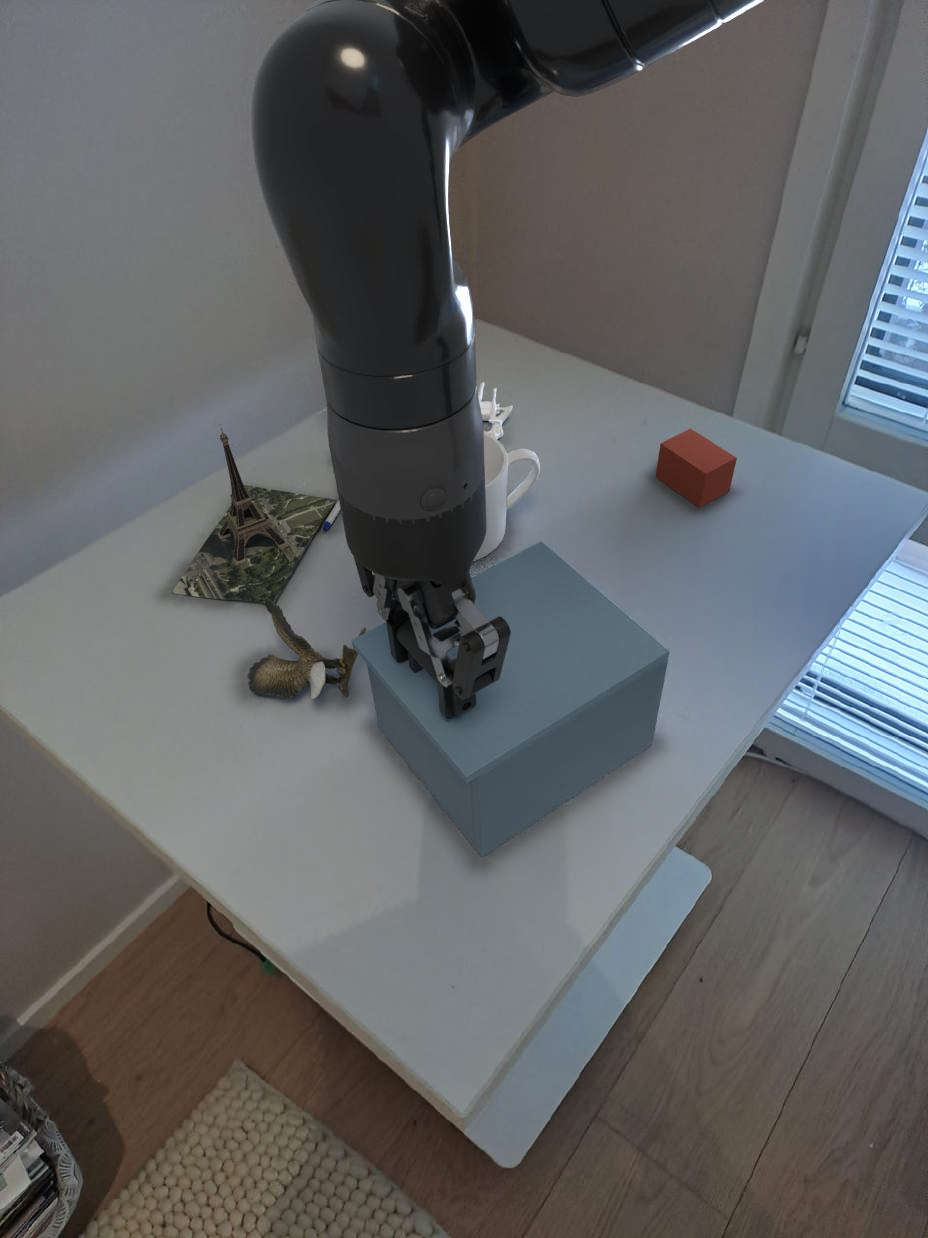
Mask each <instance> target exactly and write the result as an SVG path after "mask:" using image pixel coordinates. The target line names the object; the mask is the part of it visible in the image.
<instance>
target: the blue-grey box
mask: <svg viewBox="0 0 928 1238" xmlns="http://www.w3.org/2000/svg"><path fill="white" fill-rule="evenodd" d="M668 663H669V658H668V659H666V660H664V661H663V662H661V663H660V664H658V665H656V666H655V667H653V668H652V669H650V670H648V671H647V672H645V673H644V674H642V675H640V676H639V677H637V678H636V679H634V680H632V681H631V682H629V683H627V684H626V685H624V686H623V687H621V688H619V689H618V690H616V691H615V692H613V693H611V694H610V695H608V696H607V697H605V698H603V699H602V700H600V701H599V702H597V703H595V704H594V705H592V706H591V707H589V708H587V709H586V710H584V711H582V712H581V713H579V714H578V715H576V716H574V717H573V718H571V719H570V720H568V721H566V722H565V723H563V724H562V725H560V726H558V727H557V728H555V729H554V730H552V731H550V732H549V733H547V734H546V735H544V736H542V737H541V738H539V739H537V740H536V741H534V742H533V743H531V744H529V745H528V746H526V747H525V748H523V749H521V750H520V751H518V752H517V753H515V754H513V755H512V756H510V757H509V758H507V759H505V760H504V761H502V762H500V763H499V764H497V765H496V766H494V767H492V768H491V769H489V770H488V771H486V772H484V773H483V774H481V775H480V776H478V777H476V778H475V779H473V780H472V781H470V782H468V783H466V782H465V781H464V780H463V779H462V777H461V776H460V775H459V774H458V773H457V772H456V770H455V769H454V768H453V767H452V766H451V764H450V763H449V762H448V761H447V760H446V758H445V757H444V756H443V755H442V754H441V752H440V751H439V750H438V749H437V748H436V746H435V745H434V744H433V743H432V742H431V740H430V739H429V738H428V737H427V736H426V734H425V733H424V732H423V731H422V730H421V728H420V727H419V726H418V725H417V724H416V722H415V721H414V720H413V719H412V718H411V716H410V715H409V714H408V713H407V712H406V710H405V709H404V708H403V707H402V706H401V704H400V703H399V702H398V701H397V700H396V698H395V697H394V696H393V695H392V694H391V693H390V691H389V690H388V689H387V688H386V687H385V685H384V684H383V683H382V682H381V681H380V679H379V678H378V677H377V676H376V675H375V673H374V672H373V671H372V670H371V669H370V667H369V666H368V665H367V664H366V667H367V672H368V678H369V684H370V689H371V693H372V694H371V695H372V699H373V705H374V710H375V715H376V716H375V717H376V721H377V726H378V728H379V730H380V731H381V733H382V734H383V735H384V736H385V738H386V739H387V740H388V741H389V743H390V744H391V746H393V748H394V750H396V752H397V753H398V754H399V755H400V756H401V758H402V759H403V760H404V761H405V764H407V765H408V766H409V767H410V769H411V770H412V772H413V773H414V774H415V775H416V777H417V778H418V779H419V780H420V781H421V783H422V784H423V785H424V787H425V788H426V790H427V791H428V792H429V793H430V795H432V797H433V798H434V799H435V800H436V802H437V803H438V804H439V805H440V807H441V808H442V810H443V811H444V812H445V813H446V814H447V816H448V817H449V818H450V819H451V821H452V822H453V823H454V824H455V826H456V827H457V829H458V830H459V831H460V832H461V833H462V835H463V836H464V837H465V838H466V839H467V841H468V842H469V843H470V845H471V846H472V847H473V848H474V849H475V851H476V853H477V854H478V855H479V856H480V857H481V858H484V857H485V856H487V855H489V854H490V853H491V852H493V851H494V850H496V849H497V848H499V847H501V846H502V845H503V844H505V843H506V842H508V841H509V840H511V839H512V838H514V837H515V836H517V835H518V834H520V833H521V832H523V831H524V830H526V829H527V828H529V827H531V826H532V825H534V824H536V822H538V821H539V820H541V819H542V818H544V817H546V816H547V815H549V814H551V813H552V812H553V811H555V810H556V809H557V808H559V807H561V806H562V805H563V804H565V803H567V802H568V801H569V800H571V799H573V798H574V797H576V796H577V795H579V794H580V793H582V792H583V791H584V790H587V789H588V788H589V787H591V786H592V785H594V784H595V783H597V782H598V781H600V780H602V779H603V778H604V777H606V776H607V775H609V774H610V773H612V772H613V771H615V770H616V769H618V768H620V767H621V766H622V765H624V764H626V763H627V762H628V761H630V760H631V759H633V758H635V757H636V756H638V755H639V754H640V753H642V752H643V751H645V750H647V749H648V748H649V747H651V746H653V744H654V743H653V742H654V737H655V732H656V726H657V721H658V716H659V710H660V705H661V700H662V694H663V690H664V684H665V679H666V673H667V668H668V665H669V664H668Z"/></svg>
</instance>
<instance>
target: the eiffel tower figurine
mask: <svg viewBox="0 0 928 1238" xmlns="http://www.w3.org/2000/svg"><path fill="white" fill-rule="evenodd" d="M219 427H220V430H221V434H220V435H219V440H220V441H221V443H222V447H223V451H224V456H225V461H226V466H227V470H228V475H229V479H230V480H229V481H230V488H231V493H230V495H229V497H230V499H231V503H230V506H229V507H228V509H227V510H226V512H225V513H224V515H223V516H222V517H221V519H220V520H219V522H218V523H217V524H216V525H215V527H214V528H213V530H212V531H211V533H210V534H209V536H208V537H207V539H206V540H205V541H204V543H203V544H202V546H201V547H200V549H199V550H198V552H197V553H196V555H195V556H194V558H193V559H192V561H191V562H190V564H189V565H188V567H187V569H185V572H184V573H183V575H182V576H181V577H180V579H179V581H178V582H177V584H176V585H175V586H174V588H173V590H172V591H171V594H174V595H181V596H182V595H183V596H190V597H197V598H205V599H211V600H212V599H215V600H226V601H227V600H228V601H245V602H254V603H255V602H256V603H263V604H264V599H265V598H267V597H268V598H269V599H271V600H272V601H273V602H274V603H276V601H277V599H278V597H279V595H280V594H281V592H282V590H284V587H285V586H286V584H287V583H288V581H289V579H290V577H292V574H293V573H294V571H295V569H296V567H297V566H298V564H299V562H300V560H301V558H302V556H303V555H304V553H305V552H306V549H308V546H309V544H310V543H311V541H312V539H313V537H314V536H315V534H316V533H317V531H318V530H319V528H320V526H321V525H322V523H323V521H324V520H325V518H327V515H329V512H330V511H332V509H333V506H335V504H336V502H337V499H333V498H327V497H322V496H315V495H310V494H309V495H308V494H302V493H296V492H290V491H286V490H285V491H284V490H278V489H273V488H265V487H260V486H254V485H247V484H244V482H243V480H242V477H241V475H240V471H239V470H238V466H237V464H236V461H235V458H234V455H233V453H232V450H231V447H230V443H229V441H230V439H229V437H228V435H227V433H224V430H223V428H222V424H221V423H219Z"/></svg>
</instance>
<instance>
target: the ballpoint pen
mask: <svg viewBox="0 0 928 1238" xmlns="http://www.w3.org/2000/svg"><path fill="white" fill-rule="evenodd" d="M333 506H334V507H332V509H331V510H330V511H331V512H330V513H329V514H328V516H327V517H326V519H325V521H324V523H323V526H322V531H324V532H326V531H327V530H328V529H329V528H330V527H331V526H332V524H333V523H334V522H335V519H336V518H337V516H338V514H339V513H340V512H341V508H340V502H339V499H338V500H337V501H336V502H335V504H334V505H333Z"/></svg>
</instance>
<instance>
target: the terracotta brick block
mask: <svg viewBox="0 0 928 1238" xmlns="http://www.w3.org/2000/svg"><path fill="white" fill-rule="evenodd" d="M659 444H660V445H659V451H658V456H657V457H658V458H657V465H656V472H655V478H656V479H658V480H659V481H661V482H662V483H664V484H665V485H666V486H667V487H669V488H671V489H673V490H674V491H675V492H677V493H678V494H680V495H681V496H682V497H684V498H685V499H687V500H688V501H689V502H691V503H692V504H694V505H695V506H697V508H703V507H704V506H705V505H707V504H710V503H711V502H713V501H715V500H716V499H719V498H720V497H722V496H724V495H726V494H727V493H729V492H730V491H731V486H732V483H733V477H734V474H735V468H736V463H737V460H738V458H737V457H736V456H735V455H734V454H732V453H730V452H729V451H728V450H726V449H724V448H722V447H721V446H719V445H718V444H716V443H714V442H713V441H712V440H710V439H708V438H707V437H705V436H704V435H702V434H701V433H699V432H698V431H696V430H694V429H693V428H688V429H687V430H684V431H682V432H681V433H678V434H677V435H674V436H673V437H670V438H669V439H666V440H665V441H662V442H661V443H659Z"/></svg>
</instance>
